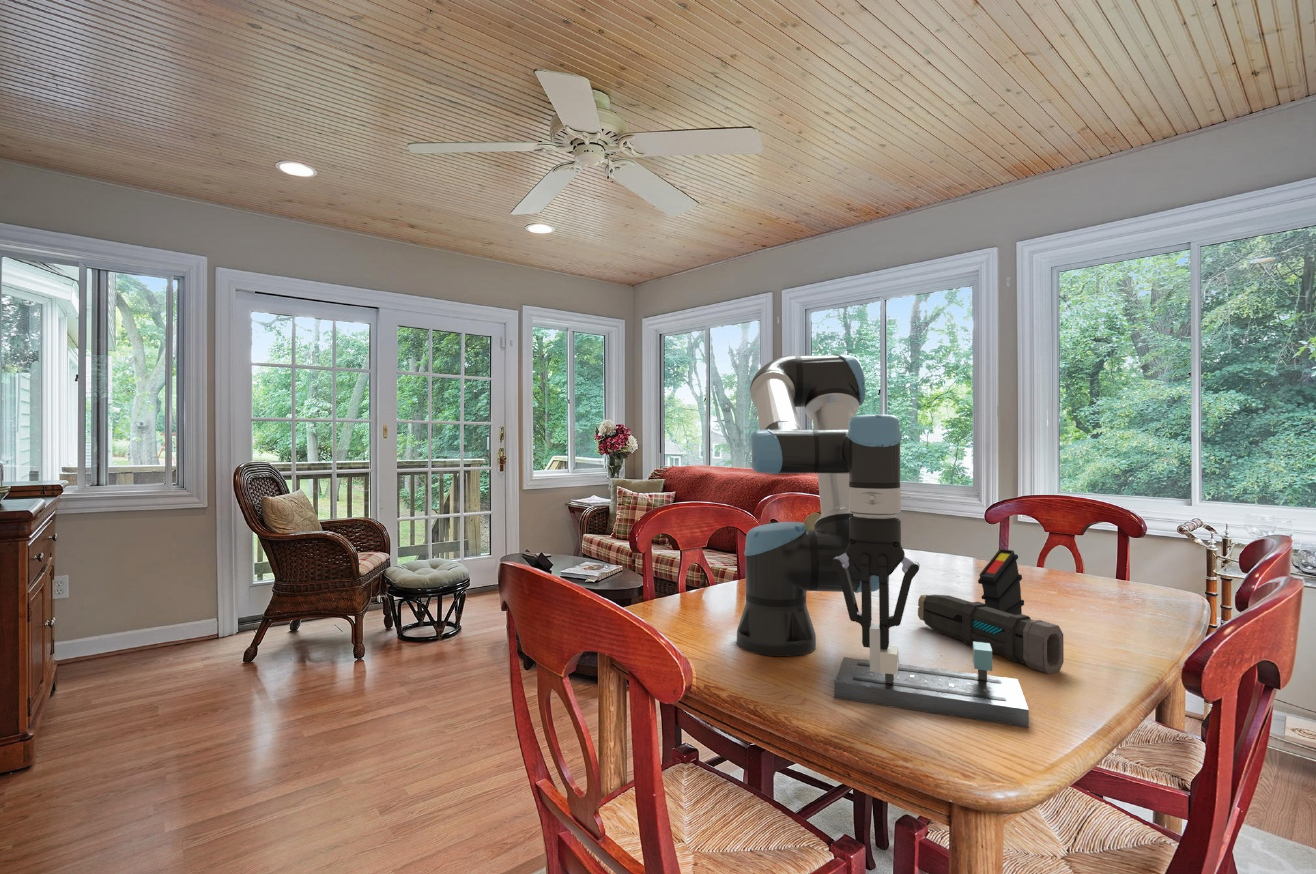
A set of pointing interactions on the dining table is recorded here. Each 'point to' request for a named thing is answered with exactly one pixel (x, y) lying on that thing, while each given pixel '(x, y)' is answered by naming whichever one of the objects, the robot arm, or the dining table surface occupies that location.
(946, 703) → the console
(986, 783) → the dining table surface
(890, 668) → the fader near
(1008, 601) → the magazine
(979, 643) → the fader far
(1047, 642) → the tube
